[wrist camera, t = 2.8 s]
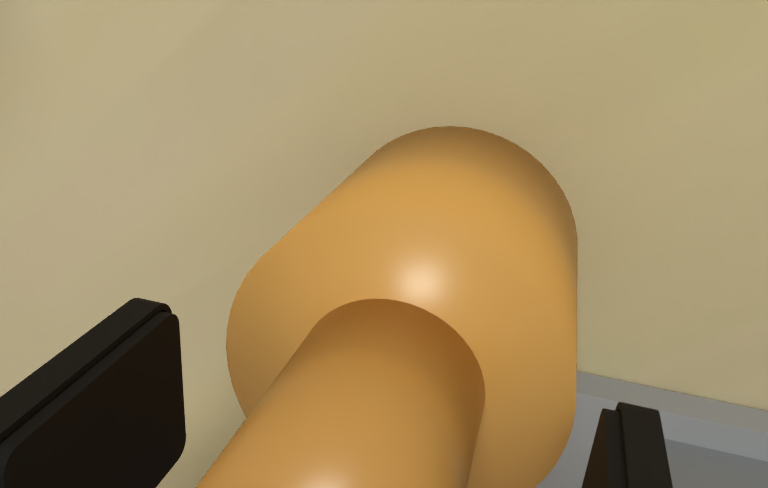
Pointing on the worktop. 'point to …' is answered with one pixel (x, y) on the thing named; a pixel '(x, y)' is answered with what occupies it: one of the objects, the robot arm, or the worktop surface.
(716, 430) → the u rest
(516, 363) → the amber bottle
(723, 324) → the worktop surface
